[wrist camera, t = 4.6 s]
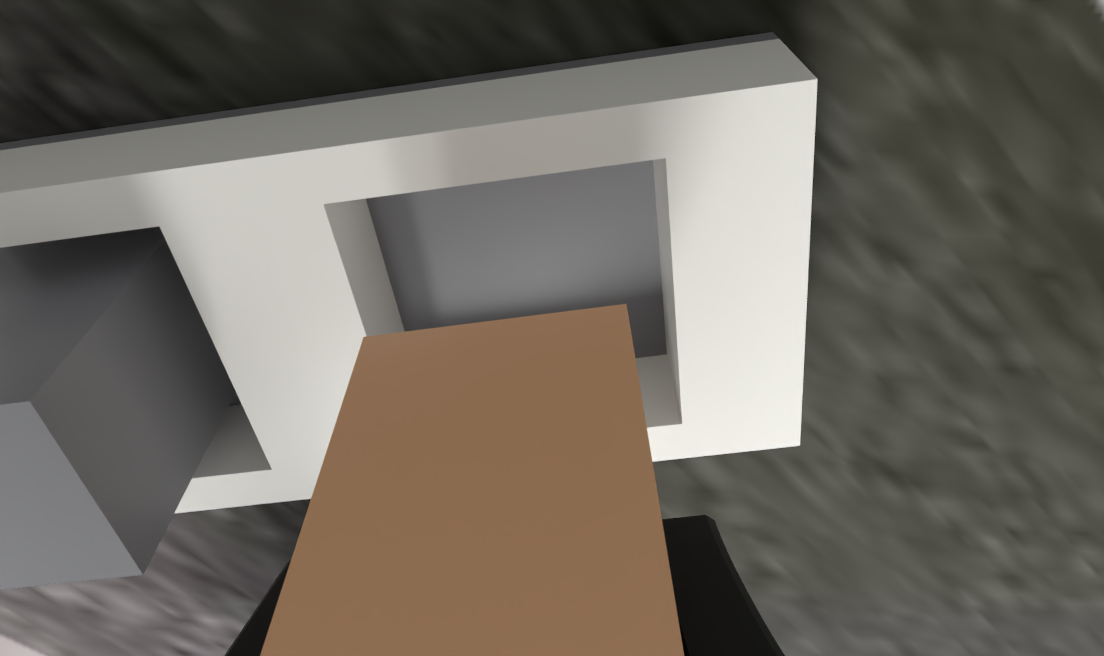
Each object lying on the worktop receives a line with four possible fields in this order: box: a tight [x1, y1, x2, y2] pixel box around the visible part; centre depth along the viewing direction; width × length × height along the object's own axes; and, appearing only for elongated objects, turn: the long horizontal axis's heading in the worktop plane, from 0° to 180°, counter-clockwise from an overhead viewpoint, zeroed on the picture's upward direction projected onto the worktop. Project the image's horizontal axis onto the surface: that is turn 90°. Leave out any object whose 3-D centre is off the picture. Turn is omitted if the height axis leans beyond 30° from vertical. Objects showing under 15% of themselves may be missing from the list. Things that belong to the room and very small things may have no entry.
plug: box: [260, 304, 684, 656], centre depth 10 cm, size 4×4×8 cm
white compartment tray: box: [0, 32, 818, 513], centre depth 17 cm, size 8×20×4 cm, turn 98°
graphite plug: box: [0, 226, 236, 589], centre depth 16 cm, size 4×4×6 cm
